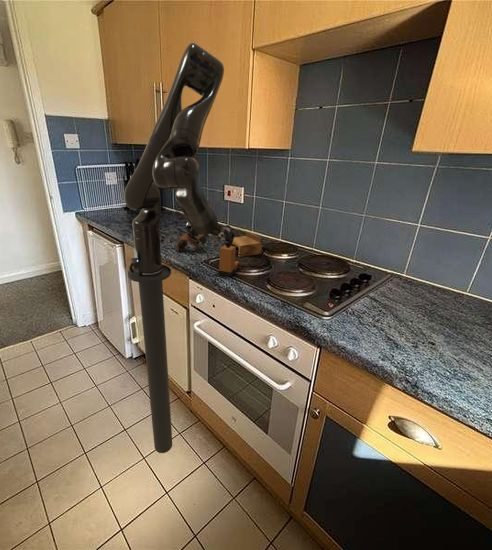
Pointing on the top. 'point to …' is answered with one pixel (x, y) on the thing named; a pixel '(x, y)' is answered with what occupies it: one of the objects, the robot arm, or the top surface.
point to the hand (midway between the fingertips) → (216, 243)
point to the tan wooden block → (248, 244)
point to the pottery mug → (184, 241)
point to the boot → (227, 261)
